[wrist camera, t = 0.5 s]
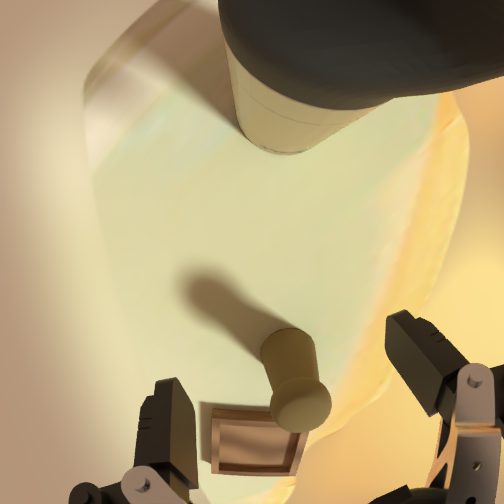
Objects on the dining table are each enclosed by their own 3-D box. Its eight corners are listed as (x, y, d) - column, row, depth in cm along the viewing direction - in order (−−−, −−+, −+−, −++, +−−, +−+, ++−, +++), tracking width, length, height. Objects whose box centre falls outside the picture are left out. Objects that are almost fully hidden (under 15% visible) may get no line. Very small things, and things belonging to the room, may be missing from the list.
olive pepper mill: (262, 377, 33) (267, 446, 22) (258, 330, 32) (263, 394, 21) (314, 371, 33) (337, 437, 22) (315, 325, 32) (343, 384, 21)
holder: (213, 408, 34) (211, 418, 32) (309, 412, 34) (311, 421, 32) (212, 464, 36) (211, 473, 34) (294, 467, 36) (295, 476, 35)
